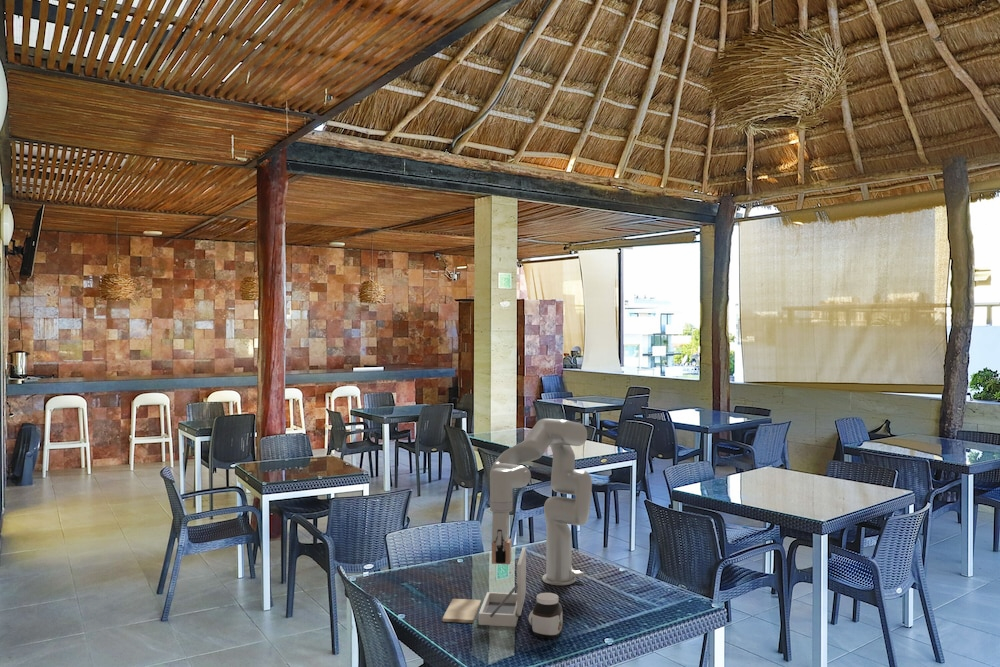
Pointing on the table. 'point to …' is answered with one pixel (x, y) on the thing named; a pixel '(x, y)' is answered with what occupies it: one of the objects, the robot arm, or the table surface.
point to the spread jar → (546, 616)
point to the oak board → (462, 611)
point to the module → (507, 549)
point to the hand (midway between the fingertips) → (501, 559)
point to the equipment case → (506, 600)
